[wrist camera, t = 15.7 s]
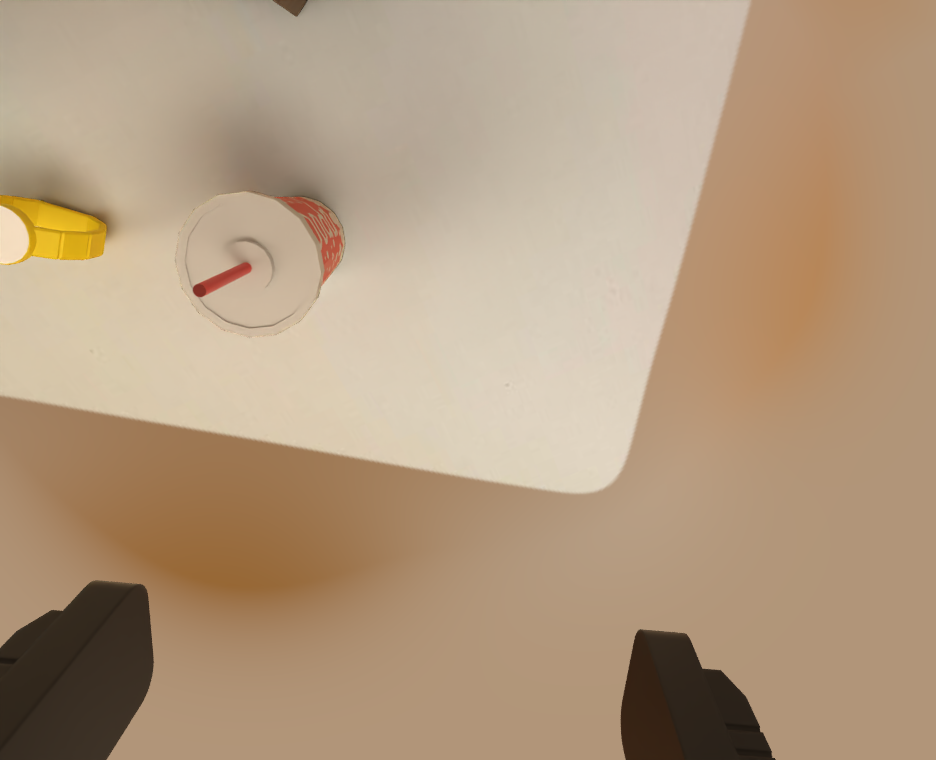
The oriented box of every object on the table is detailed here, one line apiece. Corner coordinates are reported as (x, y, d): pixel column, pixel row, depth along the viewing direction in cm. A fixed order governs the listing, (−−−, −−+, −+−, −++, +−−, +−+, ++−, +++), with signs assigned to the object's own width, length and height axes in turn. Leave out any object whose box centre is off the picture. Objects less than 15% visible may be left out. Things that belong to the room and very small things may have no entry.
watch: (12, 228, 37) (-74, 242, 31) (17, 178, 36) (-70, 183, 30) (121, 262, 37) (55, 282, 32) (128, 213, 36) (62, 225, 31)
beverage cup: (375, 276, 37) (313, 346, 24) (273, 309, 38) (159, 394, 25) (335, 165, 35) (244, 174, 22) (228, 202, 36) (79, 231, 23)
